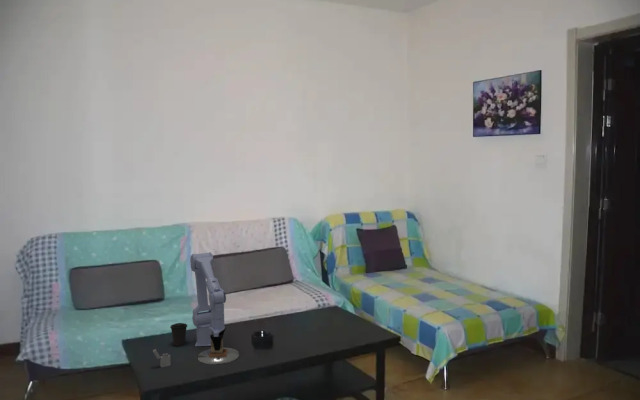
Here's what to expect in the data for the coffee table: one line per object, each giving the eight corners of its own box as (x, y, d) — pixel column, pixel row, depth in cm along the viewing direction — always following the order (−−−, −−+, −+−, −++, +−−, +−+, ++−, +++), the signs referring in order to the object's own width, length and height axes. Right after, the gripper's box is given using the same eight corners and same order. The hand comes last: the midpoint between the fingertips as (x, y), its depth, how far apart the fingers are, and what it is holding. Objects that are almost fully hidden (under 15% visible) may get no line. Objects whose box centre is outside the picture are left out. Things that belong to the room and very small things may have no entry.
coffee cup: (183, 347, 242) (182, 327, 241) (167, 346, 244) (166, 326, 243) (190, 342, 250) (190, 322, 249) (175, 341, 252) (175, 321, 251)
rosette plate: (201, 350, 239) (201, 345, 239) (240, 348, 240) (240, 343, 240) (194, 365, 221) (194, 359, 221) (236, 363, 222) (236, 358, 222)
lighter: (170, 364, 222) (169, 346, 222) (170, 365, 221) (170, 347, 220) (153, 367, 219) (152, 349, 218) (153, 368, 217) (153, 350, 217)
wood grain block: (211, 353, 232) (211, 338, 231) (223, 353, 232) (222, 338, 232) (211, 356, 229) (210, 340, 228) (222, 355, 229) (222, 340, 229)
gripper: (211, 313, 236) (211, 341, 237) (206, 322, 222) (207, 353, 223) (226, 312, 237) (227, 341, 238) (222, 322, 222) (223, 352, 223)
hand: (218, 347), depth 230 cm, fingers open, 7 cm apart
